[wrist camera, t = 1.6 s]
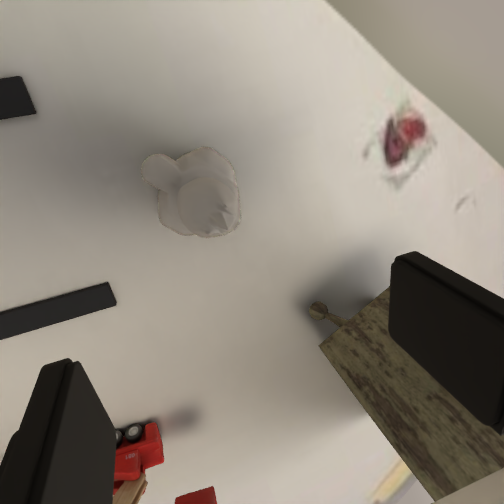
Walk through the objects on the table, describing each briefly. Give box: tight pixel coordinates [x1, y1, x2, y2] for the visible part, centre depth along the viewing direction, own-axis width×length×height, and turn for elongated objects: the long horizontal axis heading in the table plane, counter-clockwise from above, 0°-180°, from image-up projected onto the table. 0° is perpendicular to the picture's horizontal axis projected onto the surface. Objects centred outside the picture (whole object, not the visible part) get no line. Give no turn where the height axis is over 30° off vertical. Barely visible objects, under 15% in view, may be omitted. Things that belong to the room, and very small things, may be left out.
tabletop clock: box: [309, 287, 504, 501], centre depth 22 cm, size 14×9×25 cm, turn 36°
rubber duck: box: [141, 147, 241, 238], centre depth 19 cm, size 5×7×8 cm
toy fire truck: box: [112, 423, 217, 504], centre depth 25 cm, size 3×14×10 cm, turn 93°
